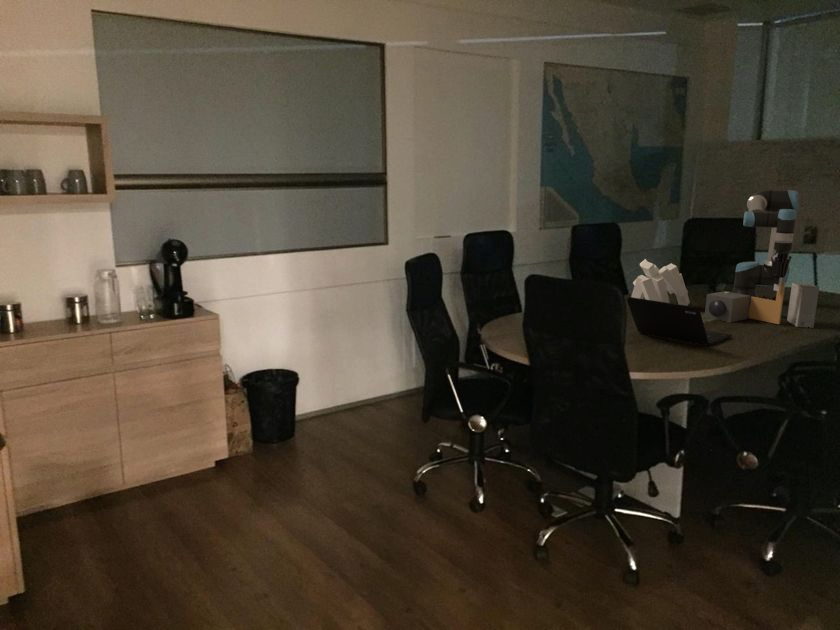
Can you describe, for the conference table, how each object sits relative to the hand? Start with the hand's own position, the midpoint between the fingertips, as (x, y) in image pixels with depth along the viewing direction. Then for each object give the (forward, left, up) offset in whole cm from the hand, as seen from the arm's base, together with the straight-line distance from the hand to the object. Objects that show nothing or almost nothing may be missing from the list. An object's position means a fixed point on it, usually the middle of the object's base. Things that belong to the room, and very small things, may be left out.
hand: (776, 290), depth 322 cm
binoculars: (-17, -11, -17) cm, 27 cm away
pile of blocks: (+15, -54, -17) cm, 59 cm away
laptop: (+63, -10, -18) cm, 66 cm away
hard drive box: (-13, +7, -17) cm, 23 cm away
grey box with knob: (+5, -21, -17) cm, 28 cm away
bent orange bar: (-3, -6, -17) cm, 18 cm away
